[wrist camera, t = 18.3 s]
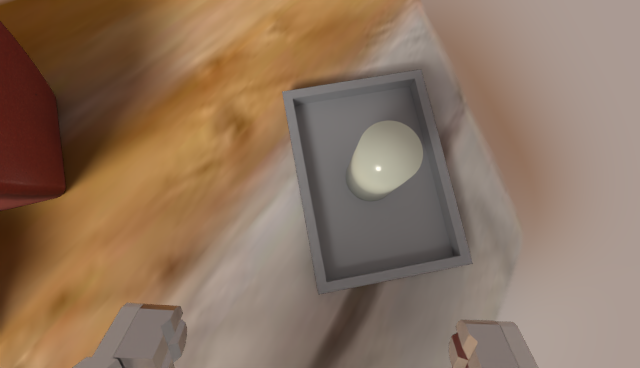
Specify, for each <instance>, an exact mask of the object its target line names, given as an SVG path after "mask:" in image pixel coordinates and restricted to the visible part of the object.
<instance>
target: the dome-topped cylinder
mask: <svg viewBox="0 0 640 368" xmlns="http://www.w3.org/2000/svg"><path fill="white" fill-rule="evenodd" d="M422 159H423V148H422V144H421V141H420V139H419V137H418V136H417V134H416V133H415V132H414V131H413V130H412V129H411V128H410V127H408V126H407V125H405V124H403V123H400V122H397V121H381V122H378V123H375V124H373V125H372V126H370V127H369V128H368V129H367V130H366V131H365V132H364V133H363V135H362V136H361V138H360V141H359V143H358V145H357V147H356V150H355V152H354V154H353V156H352V159H351V161H350V163H349V165H348V168H347V171H346V183H347V186H348V188H349V190H350V191H351V192H352V193H353V194H354V195H355V196H356V197H357V198H359V199H361V200H364V201H378V200H381V199H383V198H384V197H386V196H387V195H388V194H390V193H391V192H392V191H394V190H395V189H396V188H398V187H399V186H400V185H402V184H403V183H404V182H406V181H407V180H408V179H410V178H411V177H412V176H413V175H414V174H415V173H416V172H417V171H418V169H419V168H420V166H421V163H422Z"/></svg>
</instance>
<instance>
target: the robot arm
mask: <svg viewBox="0 0 640 368" xmlns="http://www.w3.org/2000/svg"><path fill="white" fill-rule="evenodd" d="M182 314H183V312H182V309H181V306H170V305H154V304H141V303H126V304H125V305H124V306H123V307H122V308H121V309H120V311H119V312H118V314H117V316H116V317H115V319H114V321H113V323H112V324H111V326H110V328H109V329H108V331H107V333H106V334H105V336H104V338H103V339H102V341H101V343H100V344H99V346H98V348H97V349H96V351H95V353H94V355H93V356H92V357H86V358H85V359H83V360H82V361H81V362H79V363H78V364H77V365H75V366H74V367H73V368H175V366H174V362H175V361H176V360H177V359H178V358H180V357H181V356H182V353H183V351H184V348H185V344H186V339H187V326H186V323H185V322H184V321H183V320H181V317H182ZM456 330H457V333H456V334H454V335H452V337H451V339H450V342H449V357H450V362H451V365H452V368H538V366H537V364H536V362H535V360H534V358H533V356H532V354H531V352H530V351H529V348H528V346H527V344H526V342H525V340H524V338H523V336H522V334H521V332H520V331H519V329H518V327H517V325H516V324H515V323H513V322H498V321H487V320H460V321H458V323H457V325H456Z"/></svg>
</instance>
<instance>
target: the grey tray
mask: <svg viewBox="0 0 640 368" xmlns="http://www.w3.org/2000/svg"><path fill="white" fill-rule="evenodd" d="M282 93H283V99H284V104H285V110H286V116H287V121H288V127H289V132H290V138H291V143H292V149H293V155H294V160H295V166H296V171H297V177H298V182H299V188H300V194H301V199H302V205H303V210H304V216H305V221H306V227H307V233H308V238H309V244H310V249H311V255H312V260H313V266H314V272H315V277H316V283H317V288H318V294H324V293H329V292H334V291H339V290H344V289H349V288H354V287H359V286H364V285H369V284H374V283H379V282H384V281H389V280H394V279H399V278H404V277H409V276H414V275H419V274H424V273H429V272H434V271H439V270H444V269H449V268H454V267H459V266H464V265H470V264H473V263H472V259H471V255H470V251H469V248H468V244H467V240H466V236H465V233H464V229H463V225H462V221H461V218H460V214H459V210H458V206H457V202H456V199H455V195H454V191H453V187H452V184H451V180H450V176H449V172H448V169H447V165H446V161H445V157H444V153H443V150H442V146H441V142H440V138H439V135H438V131H437V127H436V123H435V120H434V116H433V112H432V108H431V104H430V101H429V97H428V93H427V89H426V86H425V82H424V78H423V74H422V71H421V69H420V70H413V71H407V72H401V73H395V74H389V75H382V76H376V77H370V78H364V79H358V80H352V81H345V82H339V83H333V84H327V85H321V86H314V87H308V88H302V89H296V90H290V91H284V92H282ZM381 121H397V122H400V123H403V124H405V125H407V126H408V127H410V128H411V129H412V130H413V131H414V132H415V133H416V134H417V136H418V137H419V139H420V141H421V144H422V148H423V159H422V163H421V166H420V168H419V169H418V171H417V172H416V173H415V174H414V175H413V176H412V177H411V178H410V179H408V180H407V181H406V182H404V183H403V184H402V185H400V186H399V187H398V188H396V189H395V190H394V191H392V192H391V193H390V194H388V195H387V196H386V197H384V198H383V199H381V200H378V201H364V200H361V199H359V198H357V197H356V196H355V195H354V194H353V193H352V192H351V191H350V190H349V188H348V186H347V183H346V171H347V168H348V165H349V163H350V161H351V159H352V156H353V154H354V152H355V150H356V147H357V145H358V143H359V141H360V138H361V136H362V135H363V133H364V132H365V131H366V130H367V129H368V128H369V127H370V126H372V125H373V124H375V123H378V122H381Z"/></svg>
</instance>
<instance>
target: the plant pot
mask: <svg viewBox="0 0 640 368" xmlns="http://www.w3.org/2000/svg"><path fill="white" fill-rule="evenodd" d="M65 189H66V183H65V175H64V166H63V157H62V149H61V141H60V132H59V123H58V115H57V106H56V98H55V95H54V93H53V92H52V90H51V88H50V87H49V85H48V84H47V82H46V80H45V79H44V78H43V76H42V75H41V73H40V72H39V70H38V69H37V67H36V66H35V64H34V63H33V62H32V60H31V59H30V58H29V56H28V55H27V53H26V52H25V51H24V50H23V48H22V47H21V46H20V44H19V43H18V42H17V41H16V39H15V38H14V37H13V35H12V34H11V33H10V32H9V31H8V30H7V28H6V27H5V26H4V25H3V24H2V22H1V21H0V211H3V210H7V209H12V208H16V207H20V206H24V205H29V204H33V203H37V202H41V201H46V200H50V199H54V198H57V197H60V196H61V195H62V194H63V193H64V191H65Z"/></svg>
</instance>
